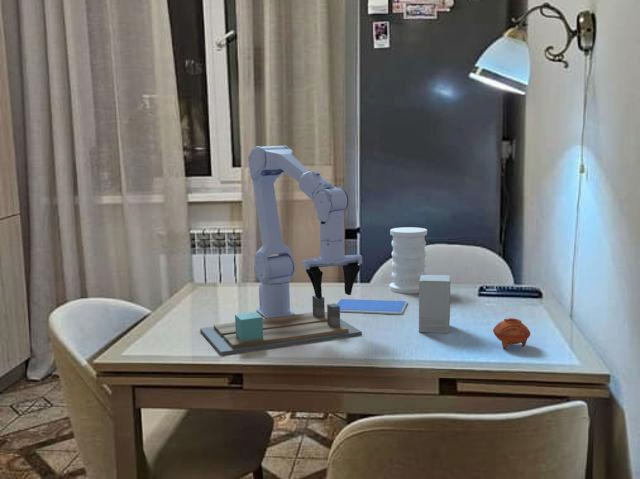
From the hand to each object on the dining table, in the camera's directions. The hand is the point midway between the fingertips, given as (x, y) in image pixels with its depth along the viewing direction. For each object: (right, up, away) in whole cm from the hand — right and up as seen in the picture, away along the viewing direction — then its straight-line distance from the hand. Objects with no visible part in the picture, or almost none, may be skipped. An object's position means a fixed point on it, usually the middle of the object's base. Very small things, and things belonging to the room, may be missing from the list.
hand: (333, 296), depth 166 cm
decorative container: (+23, -2, +44) cm, 50 cm away
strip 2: (-11, -10, -3) cm, 15 cm away
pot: (+39, -10, -12) cm, 42 cm away
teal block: (-19, -9, -7) cm, 22 cm away
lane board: (-13, -9, +2) cm, 16 cm away
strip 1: (-15, -8, +6) cm, 18 cm away
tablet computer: (+10, -6, +24) cm, 27 cm away
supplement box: (+24, -8, +3) cm, 26 cm away
